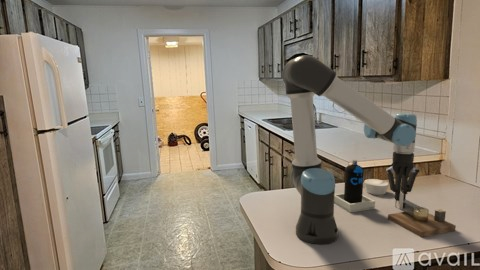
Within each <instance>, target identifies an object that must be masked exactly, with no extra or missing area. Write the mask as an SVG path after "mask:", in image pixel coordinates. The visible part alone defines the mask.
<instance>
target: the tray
mask: <svg viewBox="0 0 480 270" xmlns="http://www.w3.org/2000/svg"><path fill="white" fill-rule="evenodd" d="M334 205H337V206H339V207H340V208H341V209H343V210H345V211H346V212H348V213H350V214H351V213H356V212H362V211H368V210H375V209H376V208H375V207H376V200H374V199H372V198H370V197H368V196H365V195H364V194H362V202H358V203H352V204H350V203H348V202H347V201H345V200H344V192H343V193H335V195H334Z"/></svg>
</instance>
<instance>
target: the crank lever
mask: <svg viewBox="0 0 480 270" xmlns="http://www.w3.org/2000/svg"><path fill="white" fill-rule="evenodd" d="M394 207H395V208H396V209H398V208H397V207H396V203H395V206H394ZM399 210H400V211H401V212H405V213H407V214H409V215H410V216H412V217H413V218H414V219H415V220H417V221H421V222H427V221H428V216H429V214H430V209H428V208H426V207H424V206H420V205H418V204H416V203H414V202H412V201H410V200H408V199H407V198H405V201H403V209H399Z"/></svg>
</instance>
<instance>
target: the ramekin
mask: <svg viewBox="0 0 480 270" xmlns="http://www.w3.org/2000/svg"><path fill="white" fill-rule="evenodd" d="M363 184H364V188H365V189H364V190H365V191H366V193H368V194H371V195H374V196H375V195H376V196H383V195H385V194H386V193H387V190H388V187H389V182H388V181H386V180H382V179H377V178H368V179H365V180H363Z"/></svg>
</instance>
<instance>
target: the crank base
mask: <svg viewBox="0 0 480 270" xmlns="http://www.w3.org/2000/svg"><path fill="white" fill-rule="evenodd" d="M446 213H447V211H446V210H445V209H443V208H439V209H435V210H434V214H433V215H432V214H431V213H429V216H428V221H427V222H421V221H417V220H415V219H414V218H413V217H412V216H410V215H409V214H407V213H405V212H403V211H401V212H395V213H389V214H387V220H389V221H391V222H392V223H394V224H397V225H398V226H400V227H402V228H404V229H406V230H407V231H409V232H411V233H412V234H415V235H416V236H418V237H420V238H425V237H430V236H435V235H439V234H441V235H442V234H446V233H451V232H454V231H455V232H456V230H457V229H456V227H457V226H456V224H453V223H451V222H449V221H447V220H446Z"/></svg>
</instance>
